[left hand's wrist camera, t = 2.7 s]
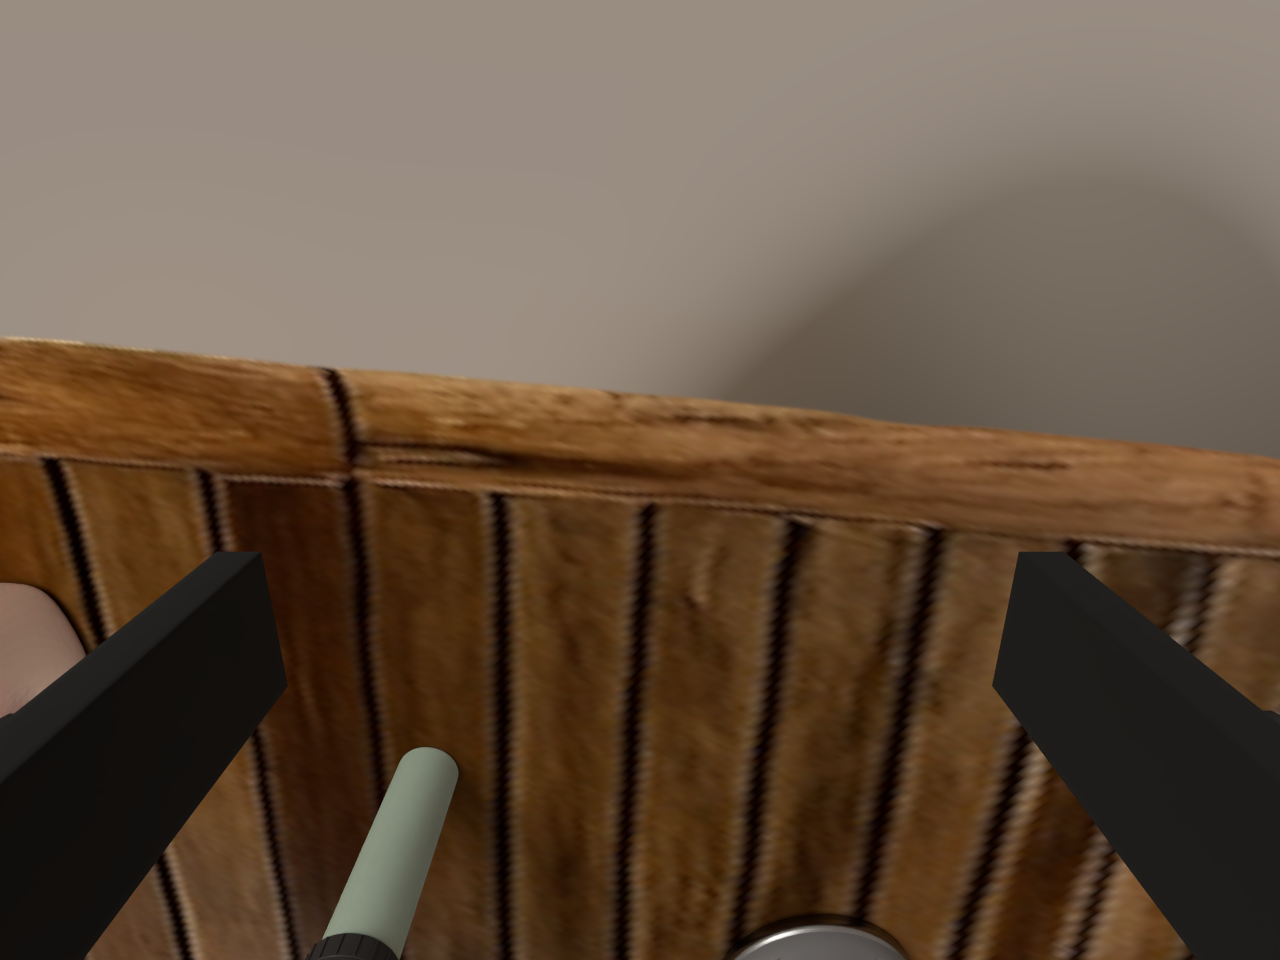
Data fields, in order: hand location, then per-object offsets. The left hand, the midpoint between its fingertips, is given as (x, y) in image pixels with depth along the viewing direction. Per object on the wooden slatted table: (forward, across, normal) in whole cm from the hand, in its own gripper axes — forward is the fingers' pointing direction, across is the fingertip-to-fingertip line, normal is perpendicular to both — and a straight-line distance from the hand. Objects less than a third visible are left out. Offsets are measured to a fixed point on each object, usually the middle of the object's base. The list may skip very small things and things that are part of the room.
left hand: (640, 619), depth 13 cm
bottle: (+28, +14, +29) cm, 43 cm away
